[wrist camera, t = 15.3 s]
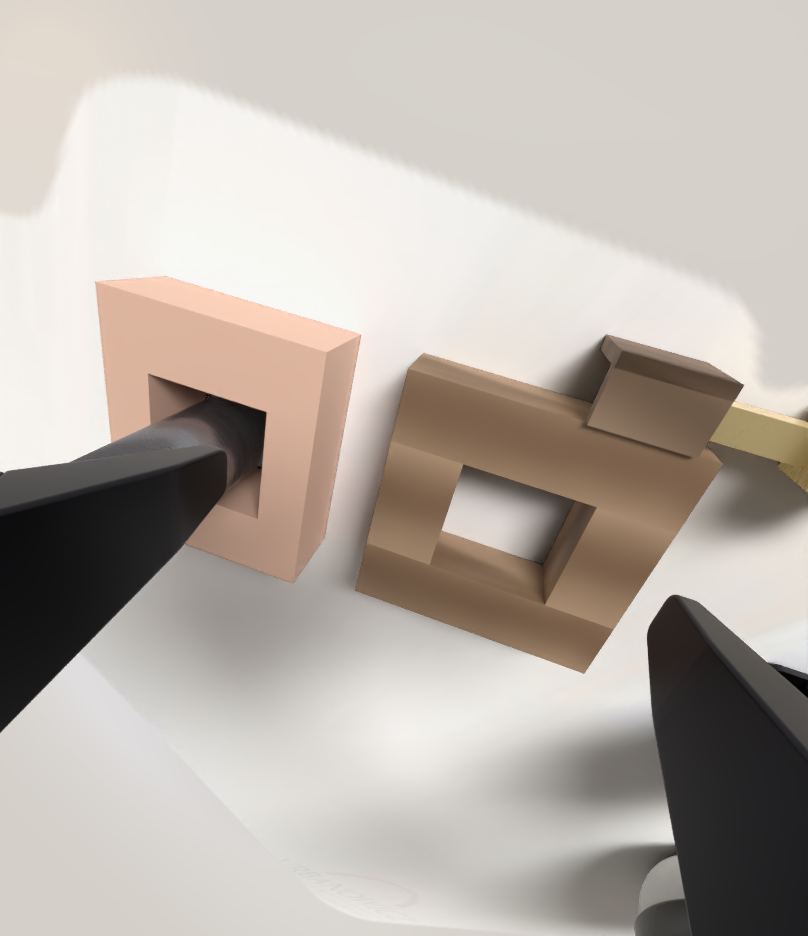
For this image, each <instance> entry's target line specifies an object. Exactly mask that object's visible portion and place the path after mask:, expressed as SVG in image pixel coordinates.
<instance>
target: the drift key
mask: <svg viewBox="0 0 808 936" xmlns="http://www.w3.org/2000/svg"><path fill="white" fill-rule="evenodd" d="M709 441H712V442H715V443H718V444H722V445H725V446H728V447H732V448H735V449H738V450H742V451H745V452H748V453H752V454H755V455H759V456H762V457H765V458H769V459H772V460H775V461H779V462H781V463H780V464H779V465H778V468H779V469H780V470H781V471H782V472H783V473H785V474H786V475H787V476H788V477H789V478H790V479H792V480H793V481H794V482H795V483H796V484H797V485H799V486H800V487H801V488H802V489H803V490H804V491H805V492H807V493H808V422H806V421H803V420H799V419H796V418H792V417H789V416H785V415H782V414H778V413H775V412H772V411H768V410H765V409H761V408H758V407H754V406H751V405H747V404H744V403H740V402H737V401H734V402H733V404H732V405H731V407H730V409H729V410H728V412H727V413H726V415H725V417H724V418H723V420H722V421H721V423H720V425H719V426H718V428H717V429H716V431H715V432H714V434H713V436H712V437H711V439H710V440H709Z"/></svg>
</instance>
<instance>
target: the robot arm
mask: <svg viewBox="0 0 808 936" xmlns="http://www.w3.org/2000/svg"><path fill="white" fill-rule="evenodd" d="M227 466H228V457H227V453H226V452H225V451H224V450H223V449H220V448H217V447H214V446H211V445H199V446H191V447H184V448H176V449H169V450H161V451H153V452H146V453H138V454H131V455H123V456H116V457H108V458H101V459H93V460H86V461H78V462H71V463H63V464H56V465H48V466H41V467H33V468H26V469H18V470H11V471H6V472H5V473H3V472H0V733H1V732H2V730H3V729H4V728H5V727H6V726H7V725H8V724H9V723H10V722H11V721H12V720H13V719H14V718H15V717H16V716H17V715H18V714H19V713H20V712H21V711H22V710H23V709H24V708H25V707H26V706H27V705H28V704H29V703H30V702H31V701H32V700H33V699H34V698H35V697H36V696H37V695H38V694H39V693H40V692H41V691H42V690H43V689H44V688H45V687H46V686H47V685H48V684H49V683H50V682H51V681H52V679H53V678H54V677H55V676H56V675H57V674H58V673H59V672H60V671H61V670H62V669H63V668H64V667H65V666H66V665H67V664H68V663H69V662H70V661H71V660H72V659H73V658H74V657H75V656H76V655H77V654H78V653H79V652H80V651H81V650H82V649H83V648H84V647H85V646H86V645H87V644H88V643H89V642H90V641H91V640H92V639H93V638H94V637H95V636H96V635H97V634H98V633H99V632H100V631H101V630H102V629H103V627H104V626H105V625H106V624H107V623H108V622H109V621H110V620H111V619H112V618H113V617H114V616H115V615H116V614H117V613H118V612H119V611H120V610H121V609H122V608H123V607H124V606H125V605H126V604H127V603H128V602H129V601H130V600H131V599H132V598H133V597H134V596H135V595H136V594H137V593H138V592H139V591H140V590H141V589H142V588H143V587H144V586H145V585H146V584H147V583H148V582H149V581H150V580H151V579H152V578H153V576H154V575H155V574H156V573H157V572H158V571H159V570H160V569H161V568H162V567H163V566H164V565H165V564H166V563H167V562H168V561H169V560H170V559H171V558H172V557H173V556H174V555H175V554H176V553H177V552H178V551H179V550H180V549H181V547H182V546H183V545H184V544H185V543H186V541H187V540H188V539H189V538H190V537H191V535H192V534H193V533H194V532H195V530H196V529H197V528H198V526H199V525H200V524H201V523H202V521H203V520H204V519H205V518H206V516H207V515H208V514H209V513H210V511H211V510H212V509H213V507H214V506H215V505H216V504H217V502H218V501H219V500H220V499H221V497H222V496H223V495H224V493H225V490H226V487H227ZM647 646H648V662H649V678H650V694H651V707H652V717H653V723H654V730H655V736H656V741H657V747H658V752H659V758H660V763H661V769H662V775H663V780H664V786H665V791H666V797H667V802H668V808H669V814H670V819H671V825H672V830H673V836H674V841H675V847H676V852H677V858H678V864H679V869H680V875H681V880H682V886H683V891H684V897H685V903H686V908H687V914H688V919H689V925H690V930H691V936H808V675H807V674H805V673H802V672H799V671H796V670H793V669H790V668H787V667H784V666H781V665H777V664H772V665H769V664H768V663H767V662H766V661H765V660H764V659H762V658H761V657H760V656H759V655H758V654H757V653H756V652H755V651H753V650H752V649H751V648H750V647H749V646H748V645H747V644H745V643H744V642H743V641H742V640H741V639H740V638H739V637H738V636H736V635H735V634H734V633H733V632H732V631H731V630H730V629H728V628H727V627H726V626H725V625H724V624H723V623H722V622H720V621H719V620H718V619H717V618H716V617H715V616H714V615H713V614H711V613H710V612H709V611H708V610H707V609H706V608H705V607H703V606H702V605H701V604H700V603H699V602H697V601H695V600H692V599H689V598H686V597H682V596H679V595H672V596H670V597H669V598H668V599H667V600H666V601H665V603H664V604H663V606H662V607H661V609H660V610H659V612H658V613H657V615H656V616H655V618H654V620H653V621H652V623H651V624H650V626H649V629H648V633H647Z"/></svg>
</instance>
